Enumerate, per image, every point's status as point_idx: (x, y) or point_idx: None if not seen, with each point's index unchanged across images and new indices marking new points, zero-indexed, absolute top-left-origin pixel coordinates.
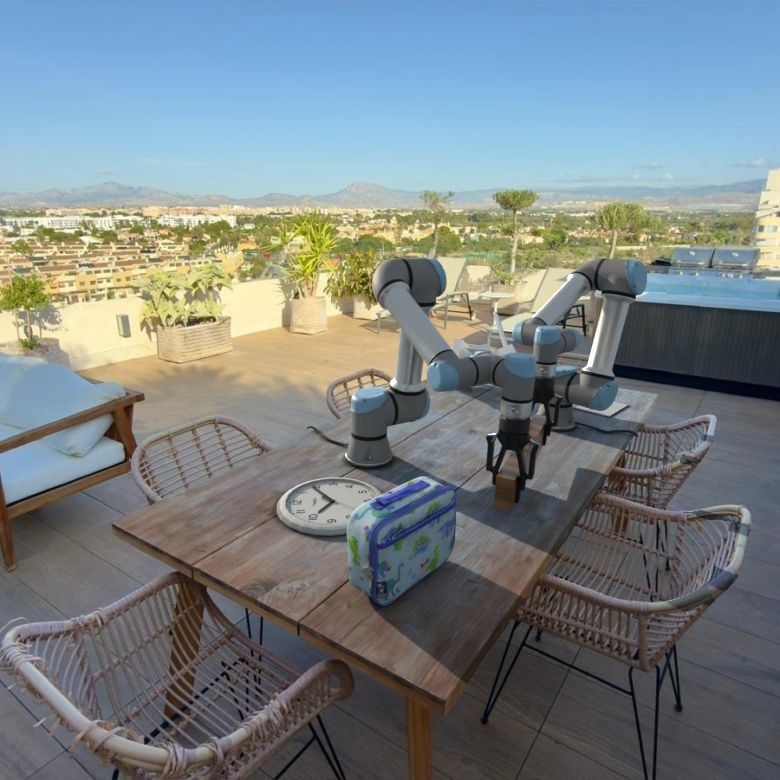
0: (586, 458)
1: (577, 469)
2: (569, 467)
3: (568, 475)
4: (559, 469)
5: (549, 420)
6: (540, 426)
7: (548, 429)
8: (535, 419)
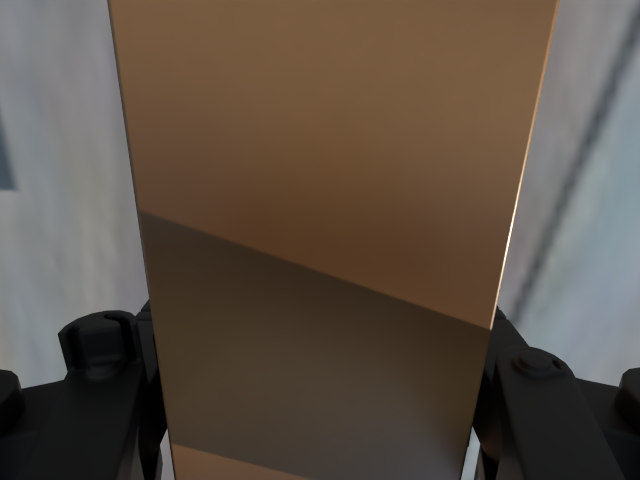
0: (19, 344)
1: (3, 151)
2: (62, 160)
3: (18, 3)
4: (112, 90)
5: (45, 453)
6: (176, 63)
7: (151, 339)
8: (378, 461)
